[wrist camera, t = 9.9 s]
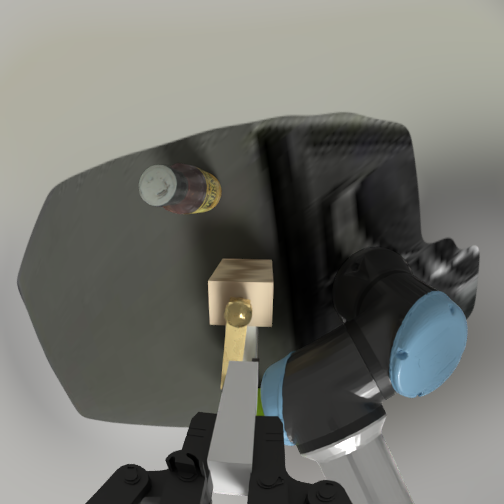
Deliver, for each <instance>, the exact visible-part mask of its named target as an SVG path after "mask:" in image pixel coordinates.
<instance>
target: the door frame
mask: <svg viewBox="0 0 504 504" xmlns="http://www.w3.org/2000/svg"><path fill="white" fill-rule="evenodd" d="M208 293H209V315H210V324H211V325H225V335H226V325H227V322H226V320H225V317H224V312H225V309H226V306H227V303H228V302H229V300H230V297H235V298H237V297H240V298H244V299H249V300H251V302H250V303H251V305H252V308H253V313H252V319H251V321H250V323H249V324H248V325H247V332H246V340H245V347H244V354H243V361H247V362H258V381H259V358H258V327H272V310H273V269H272V260H265V259H222V260H221V262H220V263H219V265H218V266H217V268H216V269H215V271H214V273H213V274H212V276H211V277H210V279H209V280H208Z"/></svg>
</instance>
